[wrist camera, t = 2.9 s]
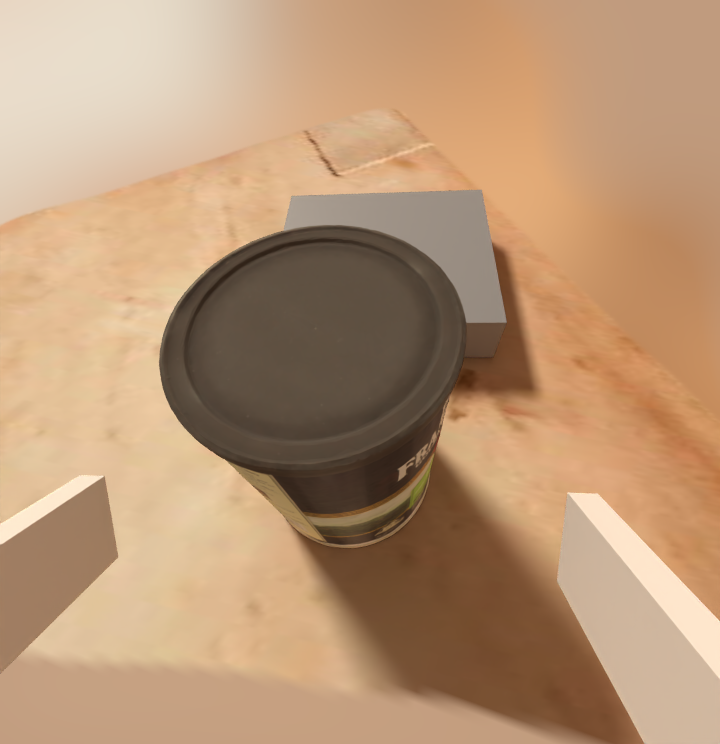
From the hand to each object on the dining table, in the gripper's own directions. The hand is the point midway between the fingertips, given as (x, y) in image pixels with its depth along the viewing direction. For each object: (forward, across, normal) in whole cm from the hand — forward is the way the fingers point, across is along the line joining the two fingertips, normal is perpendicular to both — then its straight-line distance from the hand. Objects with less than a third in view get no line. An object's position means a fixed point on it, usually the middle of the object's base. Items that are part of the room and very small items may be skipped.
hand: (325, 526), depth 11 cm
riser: (+24, +1, +6) cm, 25 cm away
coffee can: (+14, -1, -4) cm, 14 cm away
